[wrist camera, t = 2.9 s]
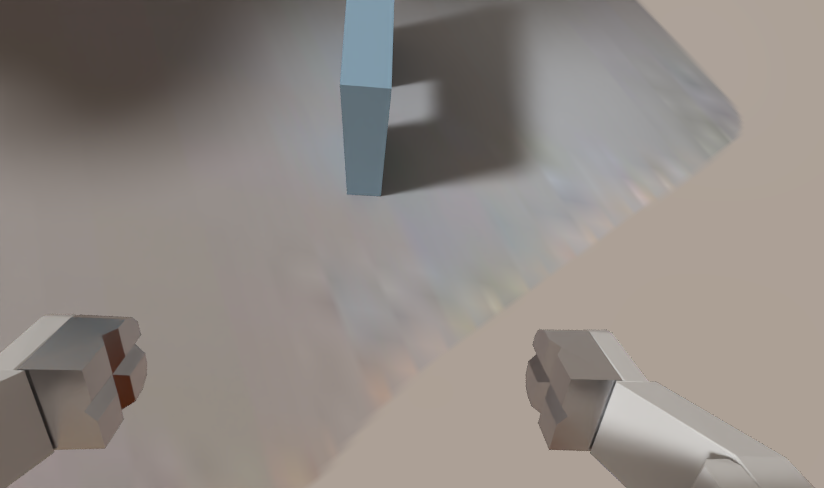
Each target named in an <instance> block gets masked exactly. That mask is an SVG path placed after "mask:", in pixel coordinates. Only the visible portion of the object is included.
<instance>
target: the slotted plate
mask: <svg viewBox="0 0 824 488" xmlns="http://www.w3.org/2000/svg"><path fill="white" fill-rule="evenodd" d="M393 25H394V0H346V12H345V26H344V39H343V52H342V65H341V79H340V92H341V107H342V123H343V138H344V154H345V170H346V185H347V194H352V195H370V196H381V189H382V179H383V169H384V159H385V149H386V139H387V129H388V119H389V109H390V99H391V89H392V57H393Z"/></svg>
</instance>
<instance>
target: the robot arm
mask: <svg viewBox="0 0 824 488" xmlns="http://www.w3.org/2000/svg"><path fill="white" fill-rule="evenodd" d="M140 336H141V332H140V328H139V324H138V321H137V320H135V319H134V318H132V317H118V316H97V315H75V314H49V315H45V316H42V317H41V318H40V319H39V320H38V321H37V322H35V323H34V324H33V325H32V326H31V327H30V328H29V329H27V330H26V331H25V332H24V333H23V334H22V335H20V336H19V337H18V338H17V339H16V340H15V341H14V342H12V343H11V344H10V345H9V346H8V347H7V348H6V349H4V350H3V351H2V352H1V353H0V488H6V487H8V486H9V485H10V484H12V483H13V482H14V481H16V480H17V479H19V478H20V477H21V476H23V475H24V474H25V473H27V472H28V471H29V470H31V469H32V468H34V467H35V466H36V465H38V464H39V463H40V462H42V461H43V460H44V459H46V458H47V457H49V456H50V455H51V454H53V453H54V450H68V449H105V448H106V447H107V445H108V444H109V442H110V441H111V439H112V437H113V436H114V434H115V433H116V431H117V430H118V428H119V427H120V425H121V423H122V422H123V420H124V417H123V413H122V409H124V408H125V407H127V406H129V405H130V404H132V403H133V402H135V401H136V400H137V398H138V396H139V395H140V393H141V391H142V390H143V387H144V383H145V380H146V376H147V360H146V355H145V353H144V352H143V351H142V350H141V349H140V348H139V347H138V346H137V345H136V344H135V343H136V342H137V340H138V339H139V337H140ZM533 347H534V349H535V351H536V355H535V356H534V357H533V358H532V359H531V360H530V361H528V366H527V371H526V390H527V394H528V398H529V401H530V403H531V406H532V407H533V408H535V409H536V410H537V411H539V412H540V413H541V414H540V419H539V422H538V424H539V426H540V428H541V431H542V433H543V436H544V438H545V441H546V443H547V445H548V448H549V450H577V451H591V452H590V453H591V454H592V455H593V456H594V457H595V458H596V459H597V460H598V461H599V462H600V463H601V464H602V465H603V466H604V467H605V468H606V469H608V471H609V472H611V473H612V474H613V475H614V476H615V477H616V478H617V479H618V480H619V481H620V482H621V483H622V484H623V485H624V486H625V487H627V488H814V487H813V486H812V485H811V484H810V483H809V481H808V480H807V479H806V478H805V477H804V476H803V475H802V474H801V473H800V472H799V471H798V470H797V469H796V467H794V465H793V464H792V463H791V462H790V461H789V460H788V459H787V458H786V457H784V456H783V455H781V454H779V453H777V452H776V451H774V450H772V449H771V448H769V447H767V446H765V445H764V444H762V443H760V442H759V441H757V440H755V439H753V438H752V437H750V436H748V435H747V434H745V433H743V432H742V431H740V430H738V429H736V428H734V427H733V426H731V425H729V424H728V423H726V422H724V421H723V420H721V419H719V418H718V417H716V416H714V415H712V414H711V413H709V412H707V411H706V410H704V409H702V408H701V407H699V406H697V405H695V404H694V403H692V402H690V401H689V400H687V399H685V398H683V397H682V396H680V395H678V394H677V393H675V392H673V391H671V390H670V389H668V388H666V387H665V386H663V385H661V384H660V383H658V382H649V381H648V379H647V378H646V377H645V375H644V374H643V373H642V371H641V370H640V369H639V368H638V367H637V365H636V364H635V362H634V361H633V360H632V358H631V357H630V356H629V354H628V353H627V352H626V350H625V349H624V348H623V346H622V345H621V344H620V342H619V341H618V340H617V339H616V337H615V336H614V334H613V333H612V332H610V331H608V330H538V331H537V333H536V335H535V338H534V341H533Z"/></svg>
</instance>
